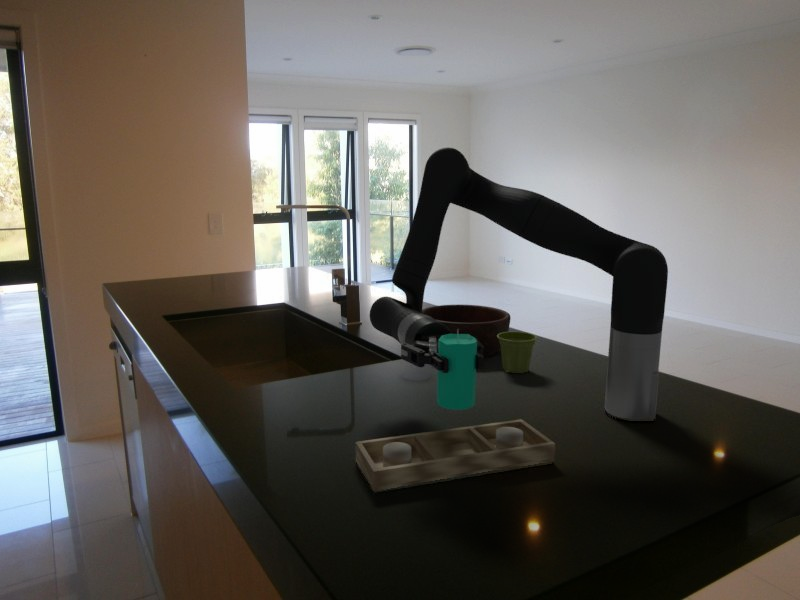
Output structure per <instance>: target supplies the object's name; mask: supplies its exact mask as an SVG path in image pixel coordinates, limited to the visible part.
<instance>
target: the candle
mask: <svg viewBox="0 0 800 600" xmlns="http://www.w3.org/2000/svg"><path fill="white" fill-rule="evenodd" d="M438 353H439V355H441V356H443V357H446V358H447V359H448V361H449V371H448V373H442V372H441V371H439V370H437V373H436V374H437V376H436V377H437V379H436V380H437V383H436V385H437V386H436V403H437V405H438V406H439V407H442V408H444V409H446V410H447V409H448V410H454V411H459V410H460V411H461V410H467V409H471V408H473V407H474V405H475V404H476V386H477V385H476V379H477V369H475V367H476V355H477V340H476V339H475V338H474V337H473V336H471V335H469V334H458V330H457V334H447V335H443V336H441V337H440V339H439V340H438Z"/></svg>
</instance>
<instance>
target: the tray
mask: <svg viewBox="0 0 800 600" xmlns="http://www.w3.org/2000/svg"><path fill="white" fill-rule="evenodd" d="M354 447H355V463H356V462H357V464H358V465H357V464H356V465H357V467H358V466H359V467H358V469H359V468H360V469H361V471H362V472H361V471H360V472H361V474H362V473H363V474H364V476H365V478H366V479H367V481H368V483H369V484H370V486H371V488H372V490H373V491H374V492H375V491H381V490H386V489H391V488H397V487H401V486H408V485H413V484H417V483H423V482H429V481H435V480H440V479H447V478H454V477H460V476H465V475H471V474H476V473H482V472H488V471H493V470H502V469H508V468H515V467H522V466H528V465H534V464H539V463H547V462H551V461H554V462H555V460H556V459H555V457H556V443H555V442H554V441H552V440H551V439H549V438H548V437H547V436H546V435H545V434H543V433H541V432H540V431H538V430H537V429H536V428H534V427H533V426H531V425H530V424H529V423H527V422H526V421H524V420H523V419H521V418H519V419H515V420H506V421H500V422H491V423H484V424H478V425H477V424H476V425H469V426H461V427H456V428H447V429H440V430H432V431H427V432H425V431H424V432H418V433H411V434H404V435H397V436H389V437H382V438H381V437H380V438H374V439H368V440H367V439H366V440H365V439H364V440H360V441H355V446H354ZM360 469H359V470H360ZM363 474H362V475H363ZM364 476H363V477H364ZM365 478H364V479H365ZM366 479H365V480H366ZM367 481H366V482H367ZM368 483H367V484H368ZM370 486H369V487H370ZM371 488H370V489H371ZM372 490H371V491H372ZM373 491H372V492H373Z"/></svg>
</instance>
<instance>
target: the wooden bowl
mask: <svg viewBox="0 0 800 600" xmlns="http://www.w3.org/2000/svg"><path fill="white" fill-rule="evenodd" d="M422 314H424V315H427V316H430V317H432V318H433V319H435V320H437V321H438V322H440V323H442V324H443V325H445V326H446V327H447V328H448V329H449V330H450V332H451V334H457V330H458V334H469V335H471V336H473V337H474V338H477V339H478V340H479V342H480V343H481V344H482V345H483V356H484V358H488V357H487V356H489V357H491V356H495V355H496V354H498V353H499V352H501V345H500V343H499V339H498V338H497V335H498V334H500V333H503V332H510V331H509V330H510V324H511V315H510V314H511V313H509V312H508V311H506V310H503V309H500V308H497V307H491V306H487V305H486V306H485V305H476V304H442V305H435V306H434V305H433V306H429V307H426V308H422ZM494 354H495V355H494Z"/></svg>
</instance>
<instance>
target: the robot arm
mask: <svg viewBox="0 0 800 600" xmlns="http://www.w3.org/2000/svg"><path fill="white" fill-rule="evenodd" d="M418 195H419V196H418V200H417V203H416V207H415V212H414V215H413V218H412V222H411V225H410V228H409V231H408V234H407V236H406V239H405V242H404V245H403V248H402V251H401V253H400V256H399V258H398V260H397V263H396V267H395V269H394V271H393V274H392V277H391V282H392V284H393V285H394V286H395V287H397V288H398V289H399V290H401V291H402V292H403V293H404V295H405V298H406V302H403V301H401V300H399V299H396V298H394V297H391V296H381V297H379V298H377V299H376V300H375V301H374V302H373V303H372V305H371V306H370V310H369V320H370V324H371V326H373V328H374V329H375V330H377V331H378V332H381V333H382V334H385V335H387V336H389V337H391V338H393V339H395V340H396V341H397V342H398V343H399V344H400V345H401V346H400V348H401V349H400V359H401V360H403V361H405V362H407V363H409V364H411V365H413V366H415V367H416V368H423V367H425V365H428V367H429V368H435V370H437V371H438V370H439V371H441V372H442V373H448V371H449V361H448V359H447V358H446V357H443V356H441V355H439V353H438V340H439V339H440V337H441V336H443V335H447V334H451V332H450V330H449V329H448V328H447V327H446V326H445V325H443V324H442V323H440V322H438V321H437V320H435V319H433V318H432V317H430V316H427V315H424V314H422V310H423V305H424V296H425V290H426V286H427V283H428V280H429V277H430V275H431V272H432V269H433V266H434V263H435V259H436V257H437V253H438V248H439V244H440V240H441V239H440V238H441V233H442V229H443V224H444V221H445V217H446V214H447V212H448V210H449V207H450V204H452V205H455V206H457V207H460V208H463V209H466V210H468V211H472V212H474V213H476V214H479V215H481V216H483V217H484V218H486V219H488V220H490V221H492V222H493V223H495V224H496V225H498V226H500V227H502V228H503V229H505V230H507V231H509V232H511V233H513V234H514V235H516V236H518V237H520V238H521V239H524V240H525V241H528V242H530V243H532V244H533V245H535V246H538V247H540V248H542V249H546V250H548V251H550V252H554V253H557V254H559V255H563V256H567V257H570V258H575V259H578V260H581V261H584V262H586V263H588V264H590V265H592V266H594V267H596V268H598V269H600V270H601V271H603V272H604V273H607V274H608V275H610V276H611V277H612V289H611V301H610V302H611V304H610V329H609V340H608V342H609V343H608V352H607V353H608V354H607V367H606V368H607V370H606V384H605V397H604V408H605V410H606V411H607V412H608V413H610V414H612V415H614V416H617V417H621V418H628V419H647V418H649V419H655V420H656V413H657V405H658V404H657V403H658V393H659V381H660V380H659V379H660V373H659V370H660V369H659V368H660V359H661V358H660V357H661V347H662V335H663V326H664V317H665V311H666V310H665V309H666V300H667V299H666V298H667V288H668V280H669V279H668V277H669V276H668V275H669V269H668V263H667V260H666V257H665V255H664V254H663V253H662V251H661V250H659V249H658V248H657V247H655V246H653V245H651V244H648V243H644V242H641V241H638V240H635V239H632V238H629V237H626V236H624V235H621V234H618V233H615V232H614V231H610V230H609V229H606V228H604V227H602V226H600V225H599V224H598V223H595V222H594V221H592V220H590V219H589V218H587V217H586V216H584V215H582V214H580V213H579V212H577V211H575V210H573V209H571V208H569V207H568V206H565V205H563V204H562V203H560V202H558V201H556V200H554V199H551V198H549V197H547V196H545V195H543V194H541V193H538V192H534V191H531V190H528V189H523V188H519V187H518V188H517V187H512V186H507V185H502V184H500V183H497V182H494V181H492V180H491V179H489V178H487V177H484V176H483V175H481V174H479V173H478V172H477V171H475V170H473V169H472V168H471V167H470V164H469V162H468V160H467V158H466V157H465V155H464V154H463V153H462V152H461V151H459V150H458V149H456V148H454V147H449V146H448V147H447V146H446V147H442V148H439V149H437V150H435V151H434V152H433V153H431V155H429V156H428V159H427V160H426V163H425V166H424V171H423V175H422V180H421V185H420V191H419V194H418ZM475 339H476V340H477V355H476V367H475V369H476V371H478V370H482V369H483V367H484V366H485V357H484V356H483V345H482V344H481V343H480V342H479V340H478V339H477V338H475Z"/></svg>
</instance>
